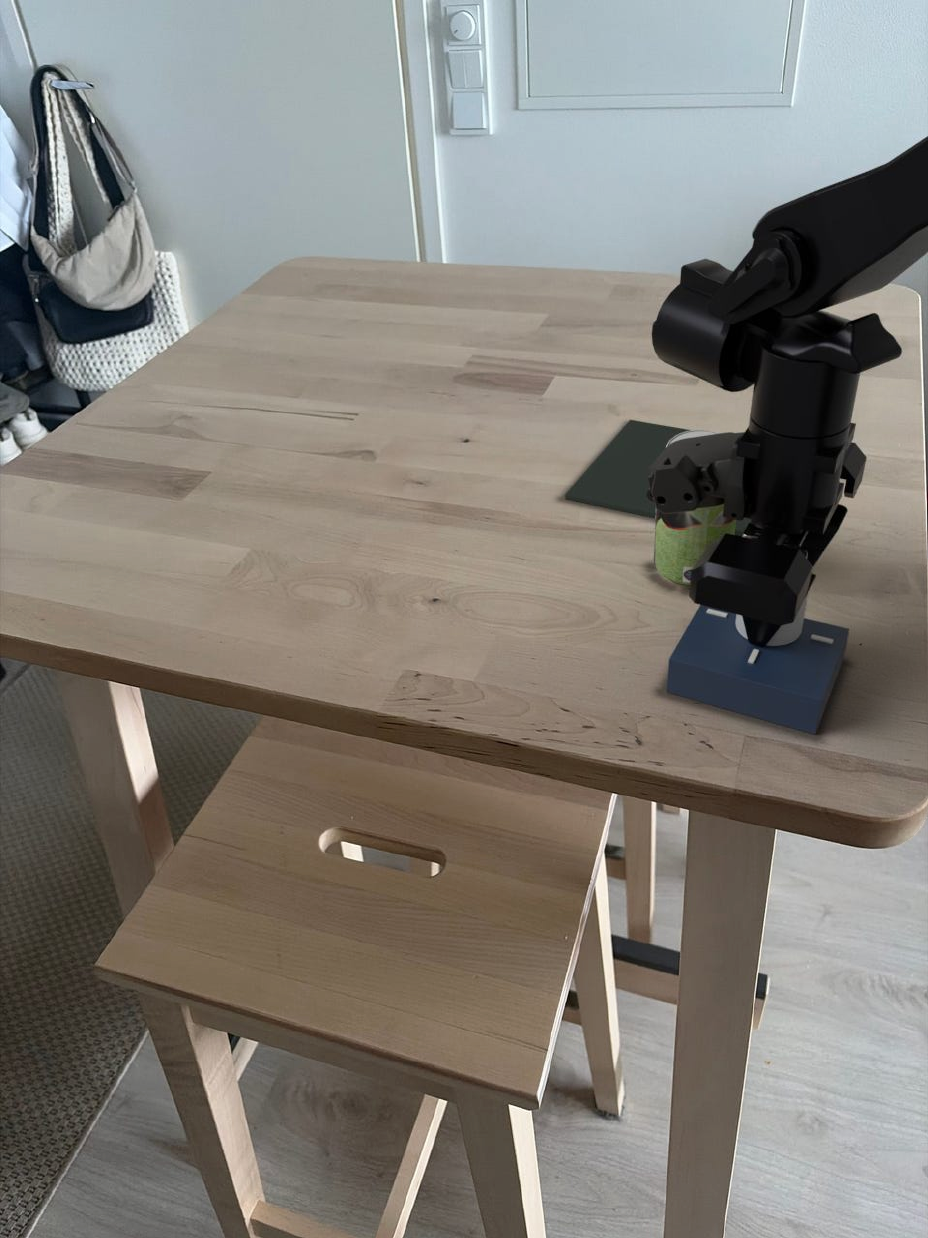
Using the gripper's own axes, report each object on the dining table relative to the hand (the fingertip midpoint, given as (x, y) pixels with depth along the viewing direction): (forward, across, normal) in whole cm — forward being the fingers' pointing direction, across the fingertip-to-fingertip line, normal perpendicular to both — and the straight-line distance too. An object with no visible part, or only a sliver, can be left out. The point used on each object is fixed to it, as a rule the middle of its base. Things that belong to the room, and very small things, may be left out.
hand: (767, 624), depth 68 cm
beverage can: (+3, -8, -8) cm, 12 cm away
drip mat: (+3, -23, -12) cm, 26 cm away
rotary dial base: (+3, +1, 0) cm, 3 cm away
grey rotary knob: (0, 0, 0) cm, 0 cm away
